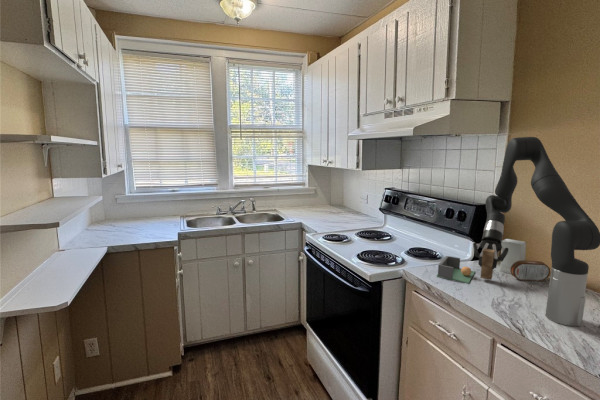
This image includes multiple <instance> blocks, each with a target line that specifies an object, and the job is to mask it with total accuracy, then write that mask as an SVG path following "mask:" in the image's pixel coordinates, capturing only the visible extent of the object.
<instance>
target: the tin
mask: <svg viewBox="0 0 600 400" xmlns="http://www.w3.org/2000/svg"><path fill="white" fill-rule="evenodd" d="M510 271H511V276H512V277H514V278H515V279H517V280H519V281H528V282H529V281H531V282H542V281H546V280H547V279H548V278H550V275H551V268H550V267H549V266H548V265H547V264H546V263H545V262H543V261H538V260H537V261H536V260H525V261H523V260H521V261H517V262H515V263H514V264H513V265H512V266H511V269H510Z"/></svg>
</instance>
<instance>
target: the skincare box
mask: <svg viewBox="0 0 600 400" xmlns="http://www.w3.org/2000/svg"><path fill="white" fill-rule="evenodd" d="M501 245H502V247H504V248H508V254H507V255H506V257H505V258H504V260H503V261H502V262H501V261H500V266H499V271H500V272H502V273H507V274H511V271H510V269H511V266H512V265H513V264H514V263H515V262H517V261H521V260H523V261H526V249H527V248H526V245H527V242H526V241H522V240H516V239H511V238H505V239H502V243H501ZM500 251H501V252H500V255H501V254H502V250H500ZM511 275H512V274H511Z"/></svg>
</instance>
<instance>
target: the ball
mask: <svg viewBox="0 0 600 400" xmlns="http://www.w3.org/2000/svg"><path fill="white" fill-rule="evenodd" d="M460 269H461V273H462V274H463V275H465V276H469V275H470V274H471V271H472V270H471V268H470V267H468V266H463V267H461V268H460Z"/></svg>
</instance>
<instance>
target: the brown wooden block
mask: <svg viewBox="0 0 600 400" xmlns="http://www.w3.org/2000/svg"><path fill="white" fill-rule="evenodd" d="M494 253H495V250H491V249H485V248H484V250H483V255H482V266H481V267H480V268H481V269H480V279H485V280H490V281H492V278H493V274H494V269H492V265H493V260H494Z"/></svg>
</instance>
